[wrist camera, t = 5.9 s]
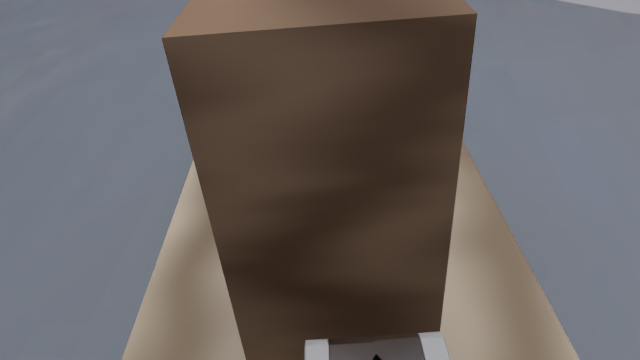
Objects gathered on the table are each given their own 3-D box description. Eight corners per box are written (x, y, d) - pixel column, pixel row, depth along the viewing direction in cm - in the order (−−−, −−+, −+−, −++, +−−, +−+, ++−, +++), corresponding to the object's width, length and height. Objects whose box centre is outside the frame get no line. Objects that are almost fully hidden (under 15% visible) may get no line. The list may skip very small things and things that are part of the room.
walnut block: (254, 392, 16) (161, 38, 9) (275, 164, 27) (241, -69, 21) (434, 380, 16) (477, 12, 9) (380, 156, 27) (380, -80, 20)
